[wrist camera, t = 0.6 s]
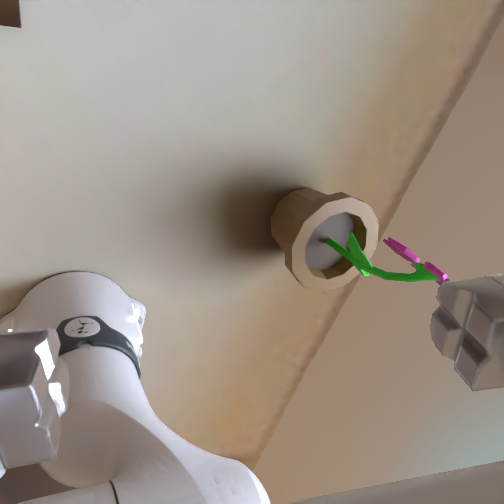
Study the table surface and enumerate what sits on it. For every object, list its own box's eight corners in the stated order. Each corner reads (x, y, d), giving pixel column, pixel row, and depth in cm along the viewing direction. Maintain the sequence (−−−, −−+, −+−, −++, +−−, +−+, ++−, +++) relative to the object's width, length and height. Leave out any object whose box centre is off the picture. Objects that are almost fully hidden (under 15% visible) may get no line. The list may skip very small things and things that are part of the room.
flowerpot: (353, 205, 73) (518, 299, 48) (299, 274, 74) (432, 399, 50) (299, 155, 64) (464, 239, 40) (239, 234, 66) (364, 361, 42)
